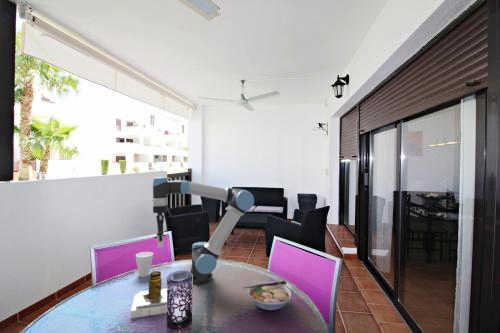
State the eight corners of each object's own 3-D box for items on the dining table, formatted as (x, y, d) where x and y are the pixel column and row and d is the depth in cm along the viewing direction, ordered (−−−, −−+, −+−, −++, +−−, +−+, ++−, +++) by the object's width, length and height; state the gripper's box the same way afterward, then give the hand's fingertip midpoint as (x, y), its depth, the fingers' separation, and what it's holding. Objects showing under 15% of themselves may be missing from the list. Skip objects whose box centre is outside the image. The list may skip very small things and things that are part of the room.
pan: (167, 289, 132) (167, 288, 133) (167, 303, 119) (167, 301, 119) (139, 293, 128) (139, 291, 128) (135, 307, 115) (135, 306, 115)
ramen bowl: (252, 322, 113) (252, 304, 113) (240, 297, 135) (241, 282, 135) (300, 315, 120) (301, 298, 120) (282, 292, 142) (282, 278, 142)
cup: (149, 270, 167) (149, 250, 167) (154, 275, 159) (155, 254, 159) (132, 274, 160) (133, 253, 160) (138, 280, 152) (138, 258, 152)
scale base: (171, 296, 134) (171, 288, 134) (171, 313, 118) (171, 305, 118) (135, 300, 128) (135, 293, 129) (130, 319, 112) (130, 310, 113)
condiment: (163, 297, 123) (163, 274, 123) (145, 302, 118) (146, 277, 118) (159, 291, 129) (160, 268, 129) (142, 295, 124) (143, 272, 125)
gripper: (152, 202, 145) (152, 237, 145) (152, 209, 122) (152, 251, 122) (166, 201, 148) (166, 236, 148) (168, 208, 125) (168, 249, 125)
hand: (160, 243), depth 135 cm, fingers open, 13 cm apart
